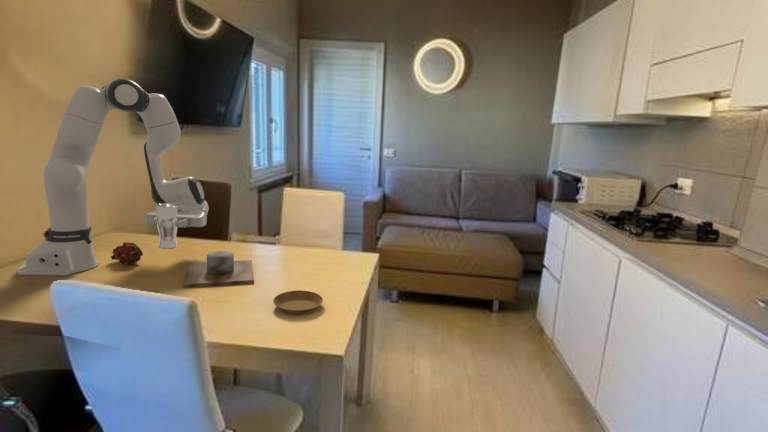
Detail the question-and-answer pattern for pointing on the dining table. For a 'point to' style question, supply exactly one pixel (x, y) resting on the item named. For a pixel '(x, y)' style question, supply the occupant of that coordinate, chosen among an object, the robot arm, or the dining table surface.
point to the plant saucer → (298, 302)
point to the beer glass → (167, 225)
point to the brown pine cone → (127, 253)
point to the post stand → (219, 271)
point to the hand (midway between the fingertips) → (166, 223)
